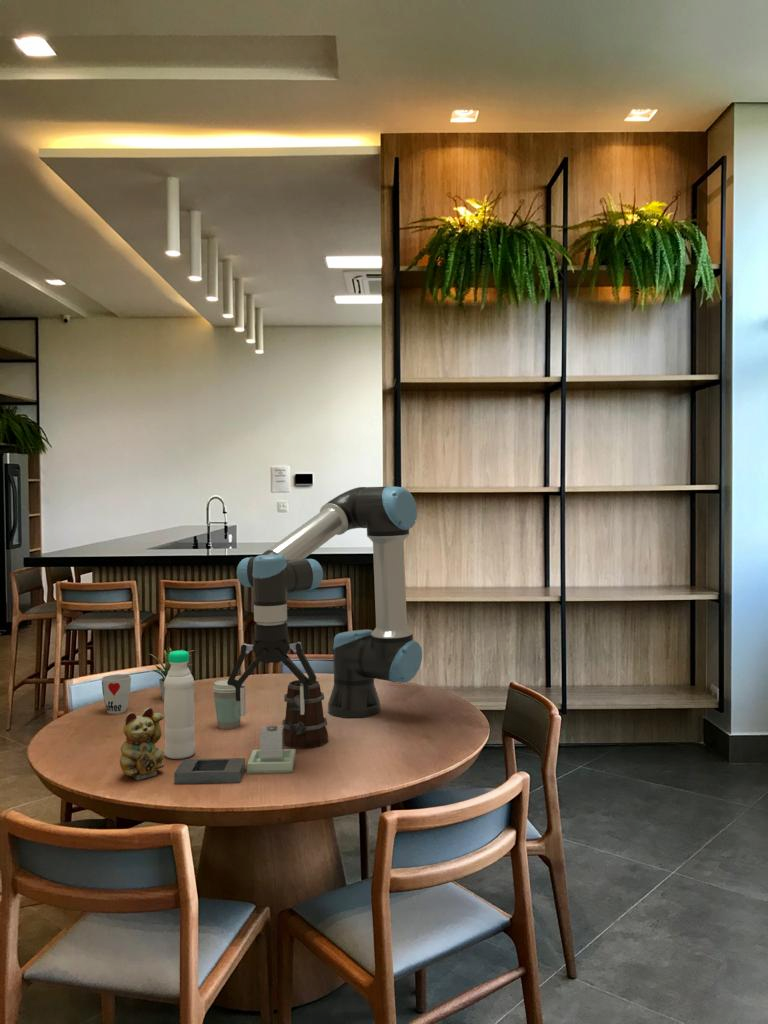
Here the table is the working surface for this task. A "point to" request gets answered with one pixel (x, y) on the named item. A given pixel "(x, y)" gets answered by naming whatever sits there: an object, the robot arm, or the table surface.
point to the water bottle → (179, 708)
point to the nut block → (272, 743)
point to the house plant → (166, 668)
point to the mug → (304, 717)
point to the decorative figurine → (142, 745)
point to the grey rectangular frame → (209, 771)
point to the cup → (116, 692)
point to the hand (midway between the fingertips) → (273, 714)
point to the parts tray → (271, 763)
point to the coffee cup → (226, 705)
